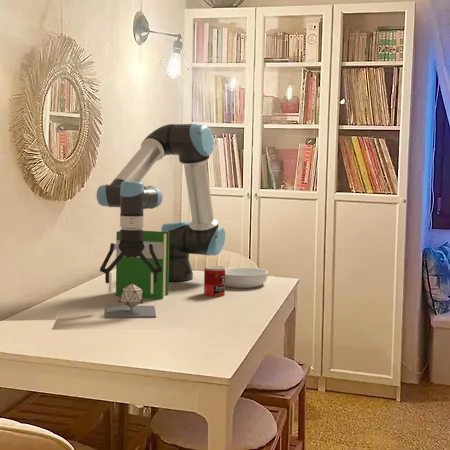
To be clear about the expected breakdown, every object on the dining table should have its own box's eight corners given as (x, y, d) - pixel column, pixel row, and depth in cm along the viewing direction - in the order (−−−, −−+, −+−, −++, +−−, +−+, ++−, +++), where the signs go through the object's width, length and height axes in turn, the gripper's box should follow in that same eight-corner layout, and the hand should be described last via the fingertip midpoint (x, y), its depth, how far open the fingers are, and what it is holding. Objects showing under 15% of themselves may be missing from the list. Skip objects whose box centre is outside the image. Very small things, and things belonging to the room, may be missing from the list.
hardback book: (168, 296, 263) (169, 231, 261) (162, 300, 256) (163, 233, 253) (122, 293, 266) (123, 229, 264) (115, 297, 259) (116, 231, 257)
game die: (139, 313, 229) (139, 283, 228) (114, 312, 230) (114, 281, 230) (148, 308, 238) (148, 279, 237) (123, 307, 239) (124, 277, 238)
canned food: (216, 299, 259) (217, 269, 258) (199, 296, 264) (200, 267, 263) (229, 296, 265) (229, 267, 264) (212, 293, 270) (212, 265, 269)
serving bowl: (236, 281, 299) (237, 265, 298) (277, 288, 286) (278, 271, 285) (204, 287, 283) (204, 270, 282) (246, 295, 270) (246, 277, 269)
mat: (106, 307, 241) (106, 305, 241) (154, 307, 243) (154, 305, 243) (105, 317, 225) (105, 316, 225) (156, 317, 227) (156, 315, 227)
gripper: (92, 229, 226) (91, 295, 228) (170, 230, 229) (169, 295, 232) (93, 227, 234) (93, 290, 236) (169, 227, 237) (168, 290, 239)
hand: (131, 293), depth 234 cm, fingers open, 13 cm apart
